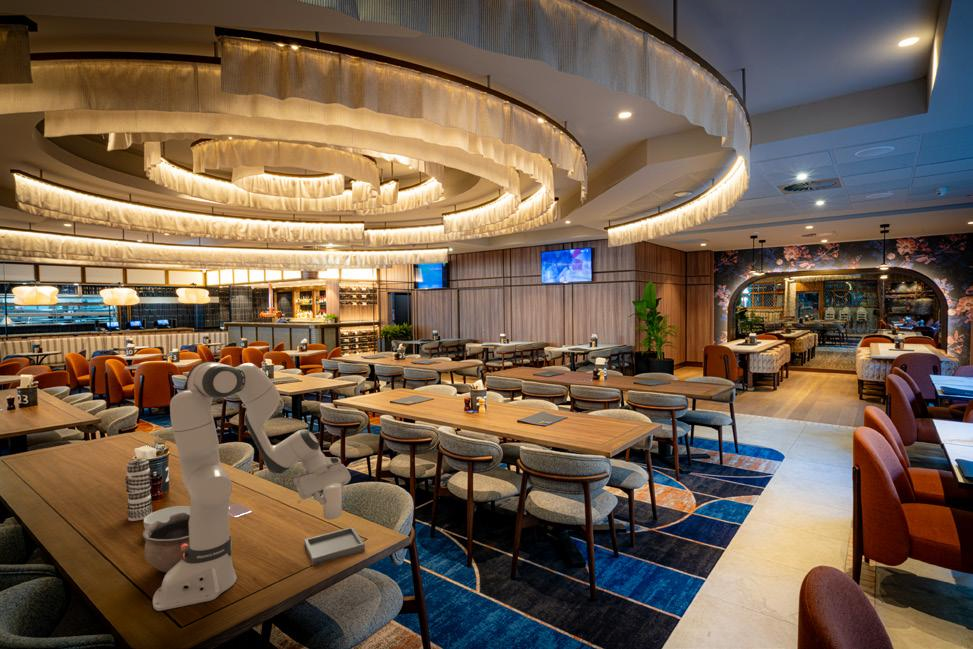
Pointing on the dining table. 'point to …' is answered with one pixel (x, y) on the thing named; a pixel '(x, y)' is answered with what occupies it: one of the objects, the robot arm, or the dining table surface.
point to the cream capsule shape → (332, 501)
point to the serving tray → (333, 545)
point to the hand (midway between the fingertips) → (333, 500)
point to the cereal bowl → (165, 514)
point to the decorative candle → (138, 489)
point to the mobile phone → (238, 510)
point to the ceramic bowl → (166, 541)
